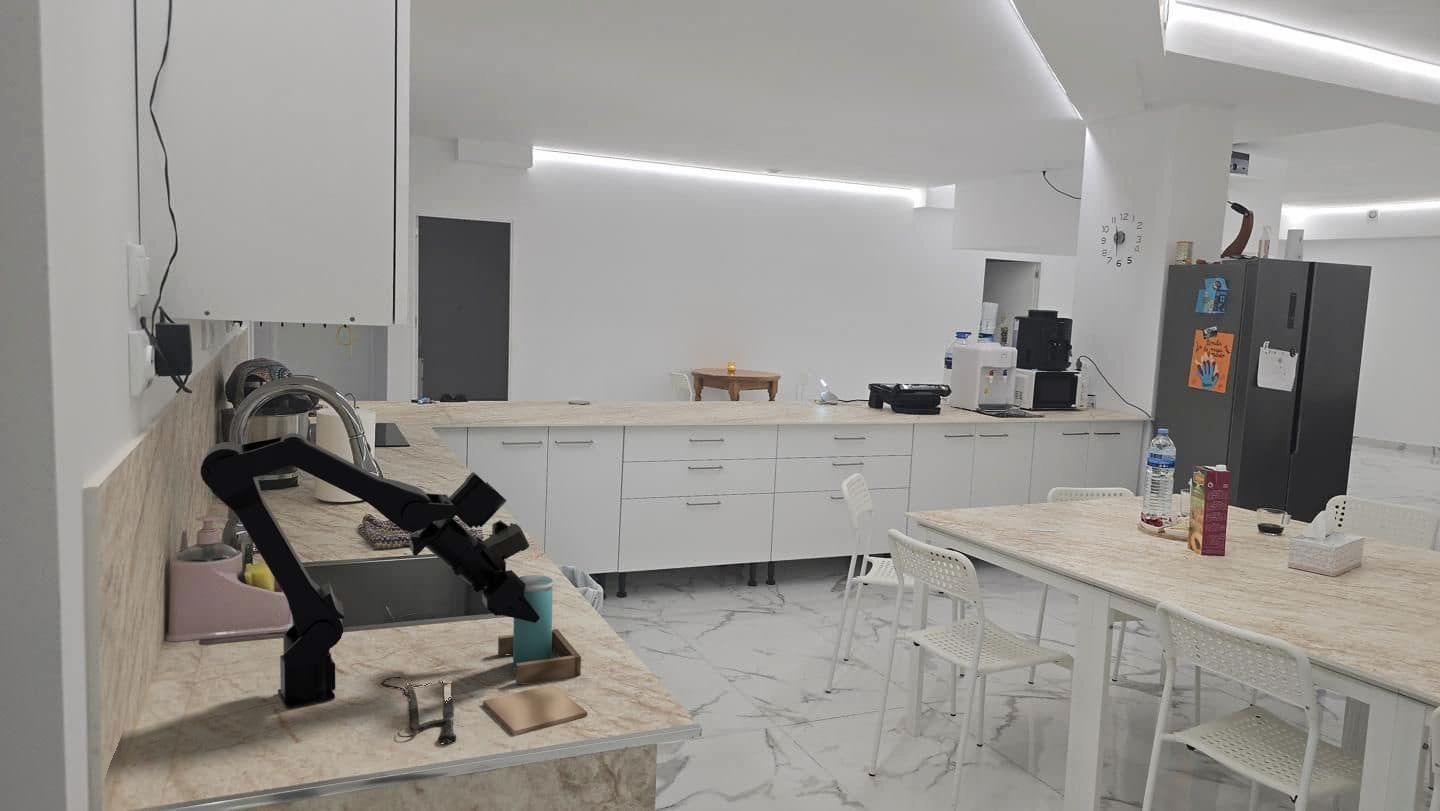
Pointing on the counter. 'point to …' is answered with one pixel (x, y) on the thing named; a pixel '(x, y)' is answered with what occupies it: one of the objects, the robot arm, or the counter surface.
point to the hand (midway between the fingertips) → (530, 610)
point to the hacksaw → (414, 724)
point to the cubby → (545, 661)
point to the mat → (534, 709)
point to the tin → (530, 636)
